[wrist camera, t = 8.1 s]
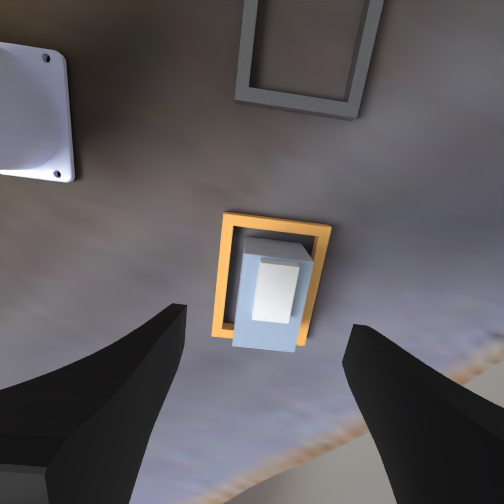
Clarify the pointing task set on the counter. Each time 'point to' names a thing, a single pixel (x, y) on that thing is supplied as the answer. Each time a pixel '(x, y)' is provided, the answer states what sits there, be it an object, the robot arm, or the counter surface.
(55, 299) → the counter surface
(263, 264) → the plug
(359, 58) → the open gray picture frame
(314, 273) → the orange picture frame
